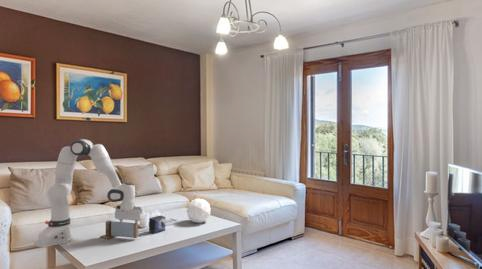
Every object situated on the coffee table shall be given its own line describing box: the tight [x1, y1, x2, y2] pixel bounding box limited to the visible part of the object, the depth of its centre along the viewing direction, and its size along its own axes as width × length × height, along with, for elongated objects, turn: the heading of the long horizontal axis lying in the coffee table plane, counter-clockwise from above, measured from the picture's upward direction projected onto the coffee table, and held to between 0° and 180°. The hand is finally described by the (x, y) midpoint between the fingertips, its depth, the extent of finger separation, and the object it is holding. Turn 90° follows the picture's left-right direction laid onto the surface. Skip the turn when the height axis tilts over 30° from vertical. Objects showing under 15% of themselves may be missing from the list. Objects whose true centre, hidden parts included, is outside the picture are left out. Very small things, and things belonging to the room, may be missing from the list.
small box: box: [148, 215, 166, 235], centre depth 246 cm, size 11×6×10 cm, turn 143°
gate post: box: [99, 220, 118, 241], centre depth 232 cm, size 8×8×11 cm
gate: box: [111, 220, 139, 239], centre depth 229 cm, size 20×2×10 cm, turn 76°
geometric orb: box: [186, 198, 212, 224], centre depth 270 cm, size 19×20×20 cm
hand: (128, 225), depth 231 cm, fingers open, 8 cm apart
